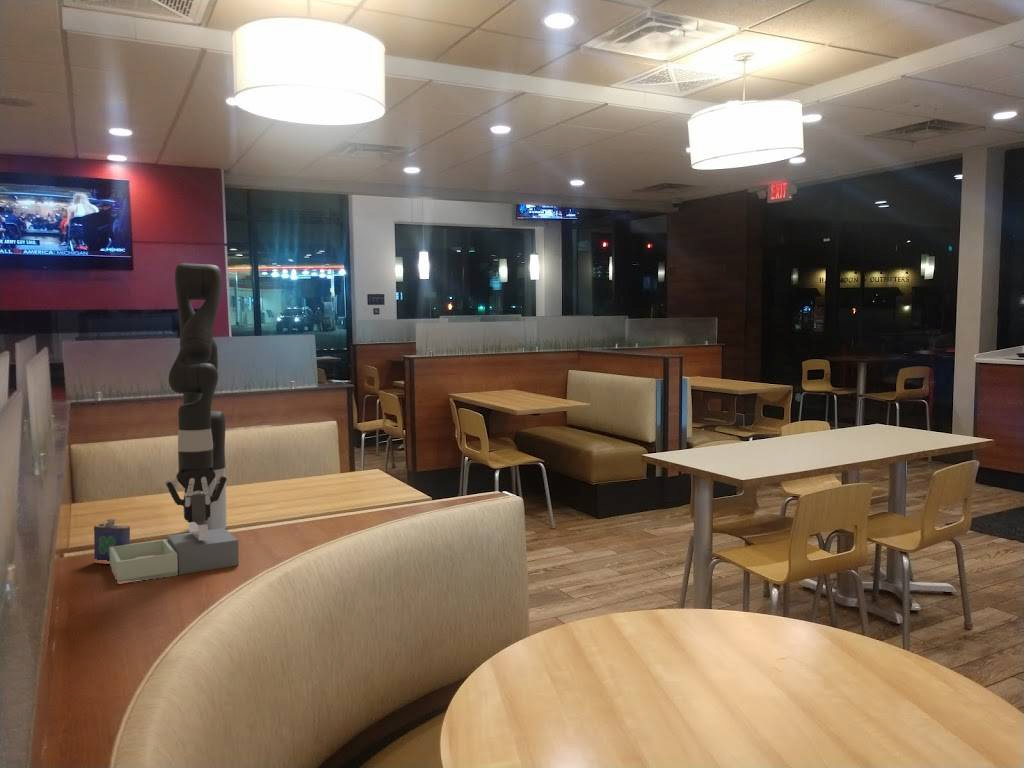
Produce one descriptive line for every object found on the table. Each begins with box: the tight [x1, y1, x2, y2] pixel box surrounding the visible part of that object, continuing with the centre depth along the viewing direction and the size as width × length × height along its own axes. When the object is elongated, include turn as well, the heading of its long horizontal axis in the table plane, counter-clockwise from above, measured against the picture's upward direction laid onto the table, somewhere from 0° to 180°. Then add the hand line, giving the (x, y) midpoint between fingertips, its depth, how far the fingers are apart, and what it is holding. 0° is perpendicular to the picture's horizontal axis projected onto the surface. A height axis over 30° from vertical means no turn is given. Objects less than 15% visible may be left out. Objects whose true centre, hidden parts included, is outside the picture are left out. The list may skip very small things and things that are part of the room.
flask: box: [93, 518, 131, 561], centre depth 177 cm, size 9×3×11 cm, turn 78°
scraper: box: [188, 494, 208, 541], centre depth 176 cm, size 12×3×10 cm, turn 33°
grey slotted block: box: [166, 528, 240, 576], centre depth 177 cm, size 14×13×6 cm
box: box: [109, 539, 179, 583], centre depth 170 cm, size 15×12×5 cm
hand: (197, 520), depth 176 cm, fingers closed on scraper, 3 cm apart
